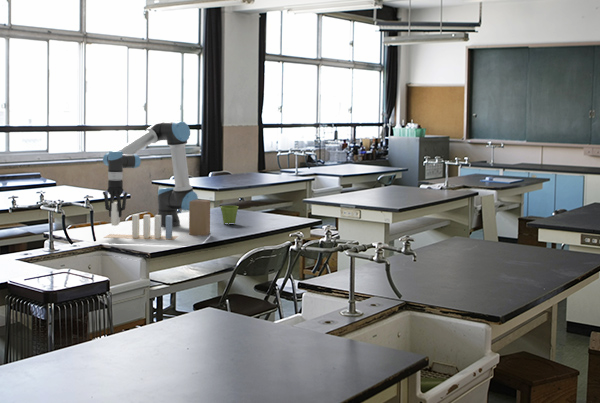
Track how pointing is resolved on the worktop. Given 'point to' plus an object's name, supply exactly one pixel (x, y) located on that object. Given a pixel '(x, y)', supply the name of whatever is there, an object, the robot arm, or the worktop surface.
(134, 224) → the tile
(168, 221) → the tile
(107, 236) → the oak board
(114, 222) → the tile
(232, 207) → the plant pot
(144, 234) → the tile
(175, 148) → the robot arm
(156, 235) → the tile
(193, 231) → the wooden block
